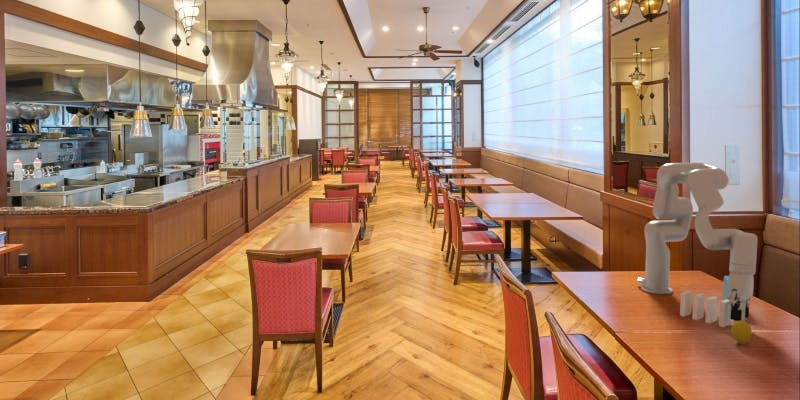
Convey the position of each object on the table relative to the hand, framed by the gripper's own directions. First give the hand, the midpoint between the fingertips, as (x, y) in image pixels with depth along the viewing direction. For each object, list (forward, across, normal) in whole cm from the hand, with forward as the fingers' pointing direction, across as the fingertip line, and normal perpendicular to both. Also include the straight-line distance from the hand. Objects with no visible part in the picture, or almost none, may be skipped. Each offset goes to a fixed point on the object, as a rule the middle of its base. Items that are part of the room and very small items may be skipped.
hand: (739, 318), depth 171 cm
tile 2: (+4, 0, -14) cm, 14 cm away
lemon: (+4, +14, +6) cm, 16 cm away
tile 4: (+4, 0, -5) cm, 6 cm away
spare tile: (+3, 0, 0) cm, 3 cm away
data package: (+4, -22, -11) cm, 25 cm away
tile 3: (+4, 0, -9) cm, 10 cm away
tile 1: (+4, 0, -18) cm, 19 cm away
